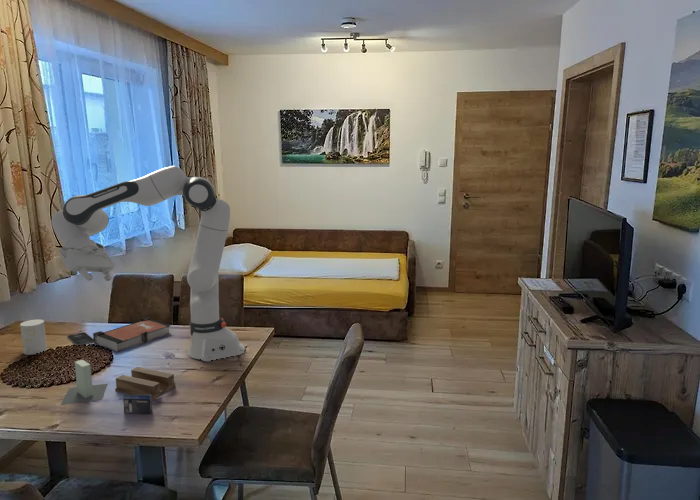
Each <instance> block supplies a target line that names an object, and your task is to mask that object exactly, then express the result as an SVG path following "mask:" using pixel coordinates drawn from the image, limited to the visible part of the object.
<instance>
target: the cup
mask: <svg viewBox="0 0 700 500" xmlns="http://www.w3.org/2000/svg"><path fill="white" fill-rule="evenodd" d="M45 327H46V326H45V320H44V319H37V318H36V319H31V320H25V321H23V322H21V323H20V334H21V343H22V352H23V354H24V355H26V356H27V355H28V356H29V355H37V354H36V353H38V354H41V353H43V351H44V352H46V351H47V350H48V348H47V347H48V346H47V336H46V329H45ZM40 352H41V353H40Z"/></svg>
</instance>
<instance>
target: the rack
mask: <svg viewBox="0 0 700 500" xmlns="http://www.w3.org/2000/svg"><path fill="white" fill-rule="evenodd" d="M130 371H131V376H130V375H125V374H122V375H120V376H117V377H115V388H114V390H115V392H119V393H122V394H123V393H124V394H151V396H152V401H154V400H156V399H157V398H159V397H160V396H161V395H162V394H164V393H166V392H167V391H168V390H172V389H174V388H175V387H176V382H175V374H174V373H169V372H164V371H160V370H154V369H149V368H145V367H142V366H141V367H140V366H136V367H135V368H133V369H131V370H130Z"/></svg>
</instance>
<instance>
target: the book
mask: <svg viewBox="0 0 700 500" xmlns="http://www.w3.org/2000/svg"><path fill="white" fill-rule="evenodd" d="M170 327H171V324H169V323H165V322H162V321H158V320H155V319H152V318H151V317H148V316H145V317H143V318H141V319H140V320H139V321H136V322H133V323H129V324H126V325H123V326H119V327H116V328H114V329H110V330H107V331H102V330H99V331H96V332H93V333H92V336H93V337H92V338H93V339H94V342H93V344H95V345H97V346H100V347H103V348H105V349H108V350H111V351H114V352H116V353H119V352H121V351H124V350H127V349H130V348H132V347H136V346H138V345H142V344H145V343H147V342H149V341H153V340H155V339H158V337H159V338H161V337H160V336H162V337H163V335H164V336H167V335H168V334H167V333H169V332H170ZM166 334H167V335H166Z"/></svg>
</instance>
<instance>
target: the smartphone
mask: <svg viewBox="0 0 700 500" xmlns="http://www.w3.org/2000/svg"><path fill="white" fill-rule="evenodd" d="M66 337H67V338H68V340H69V341H70V342H71V343H73V344H74V345H75V346H76V345H80V346H83V345H84V344H85V345H89V344H92V343H93V344H94V339H93V337H91V336H90V335H89V334H88V333H87V332H78V333H72V334H69V335H67V336H66Z"/></svg>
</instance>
